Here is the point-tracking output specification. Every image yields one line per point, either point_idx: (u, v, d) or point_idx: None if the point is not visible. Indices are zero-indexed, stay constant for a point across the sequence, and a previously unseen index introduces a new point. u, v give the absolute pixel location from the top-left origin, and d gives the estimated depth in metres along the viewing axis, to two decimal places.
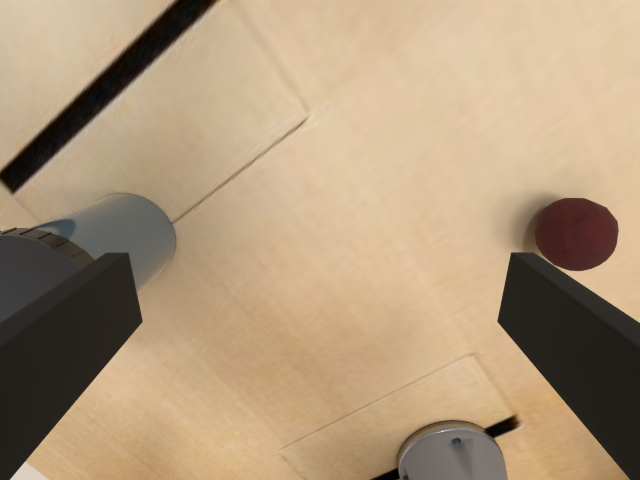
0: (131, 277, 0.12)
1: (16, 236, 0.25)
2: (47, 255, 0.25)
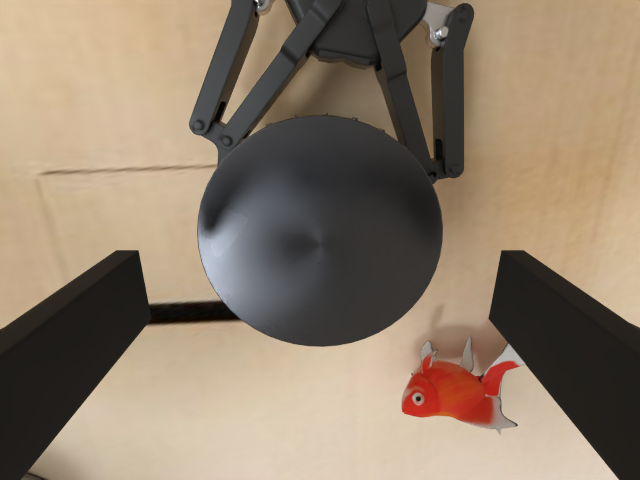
0: (140, 274, 0.12)
1: (245, 321, 0.18)
2: (226, 283, 0.17)
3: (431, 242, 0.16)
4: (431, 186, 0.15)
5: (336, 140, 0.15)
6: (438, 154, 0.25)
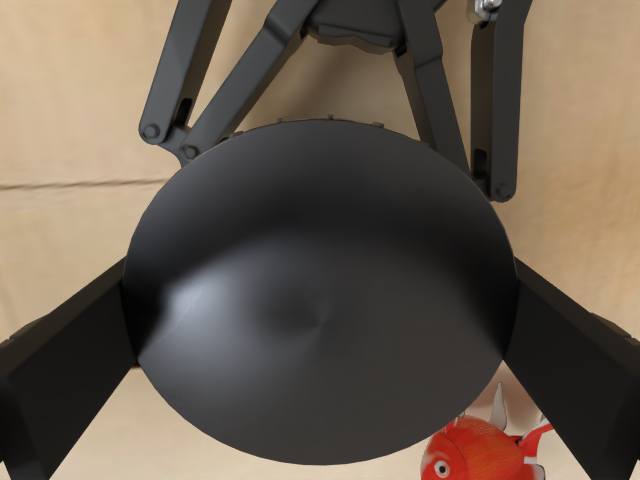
0: None
1: (206, 432, 0.12)
2: (173, 380, 0.11)
3: (498, 321, 0.10)
4: (504, 236, 0.09)
5: (348, 161, 0.09)
6: (477, 169, 0.19)
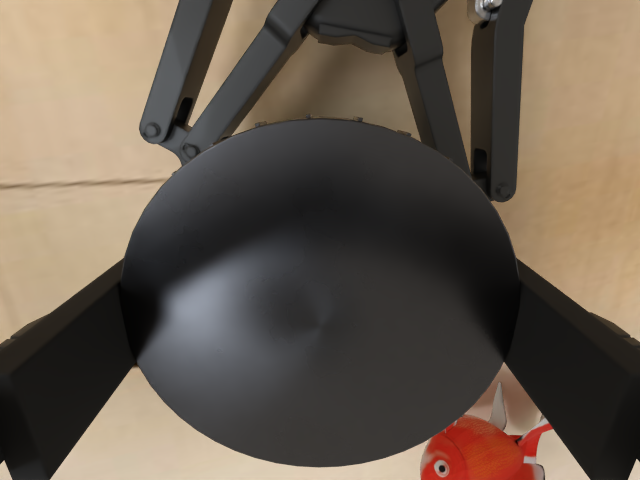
0: None
1: (461, 414, 0.11)
2: (394, 438, 0.12)
3: (294, 142, 0.08)
4: (189, 164, 0.09)
5: (154, 319, 0.10)
6: (477, 169, 0.19)
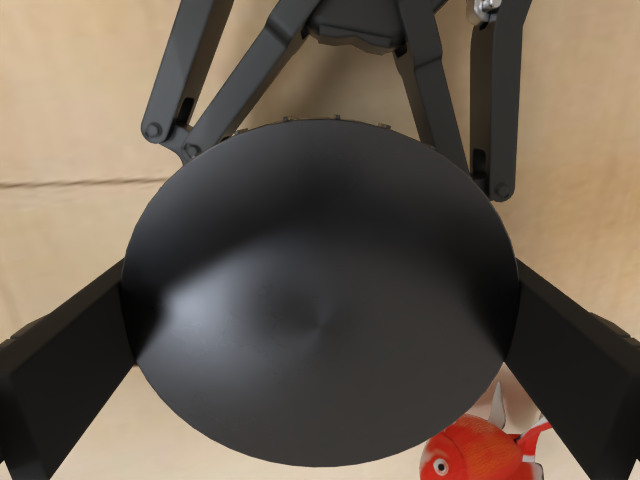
0: None
1: (438, 153, 0.09)
2: (475, 233, 0.09)
3: (151, 358, 0.11)
4: (188, 422, 0.11)
5: (327, 447, 0.12)
6: (476, 169, 0.19)
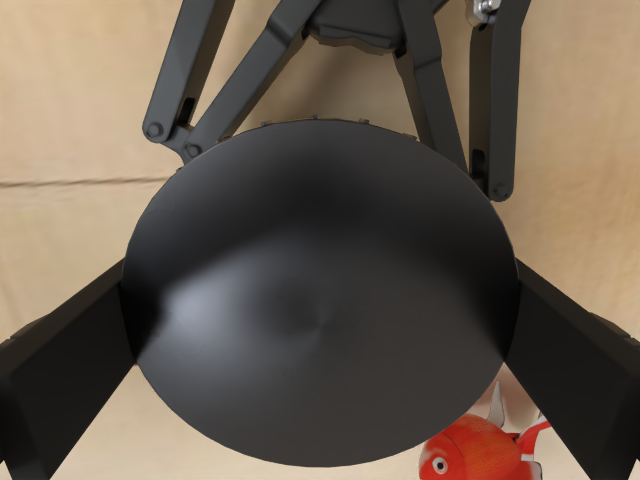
0: None
1: (128, 248, 0.09)
2: (192, 199, 0.09)
3: (367, 451, 0.12)
4: (443, 428, 0.12)
5: (486, 305, 0.10)
6: (475, 169, 0.19)
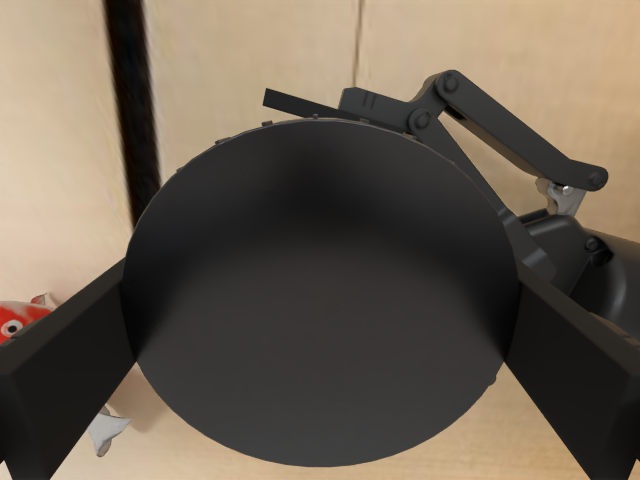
0: None
1: (128, 248, 0.09)
2: (192, 199, 0.09)
3: (367, 451, 0.12)
4: (443, 428, 0.12)
5: (486, 305, 0.10)
6: None
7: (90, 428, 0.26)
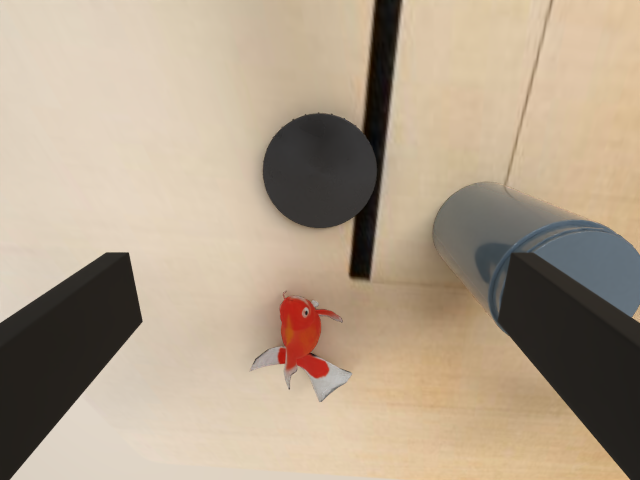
0: (131, 277, 0.12)
1: (267, 149, 0.34)
2: (286, 134, 0.34)
3: (335, 221, 0.37)
4: (358, 211, 0.37)
5: (367, 166, 0.35)
6: None
7: (324, 380, 0.40)
